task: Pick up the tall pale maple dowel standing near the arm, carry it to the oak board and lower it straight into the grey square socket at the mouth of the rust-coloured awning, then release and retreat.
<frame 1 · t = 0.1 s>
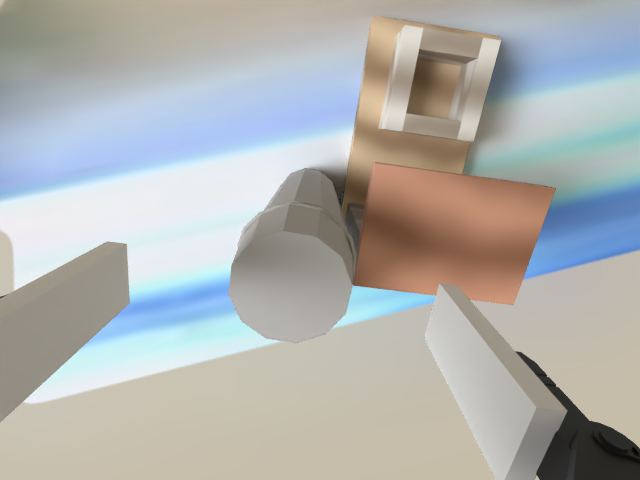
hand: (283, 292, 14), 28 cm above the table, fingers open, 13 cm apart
socket station: (408, 138, 39), on the table
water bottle: (304, 203, 41), on the table
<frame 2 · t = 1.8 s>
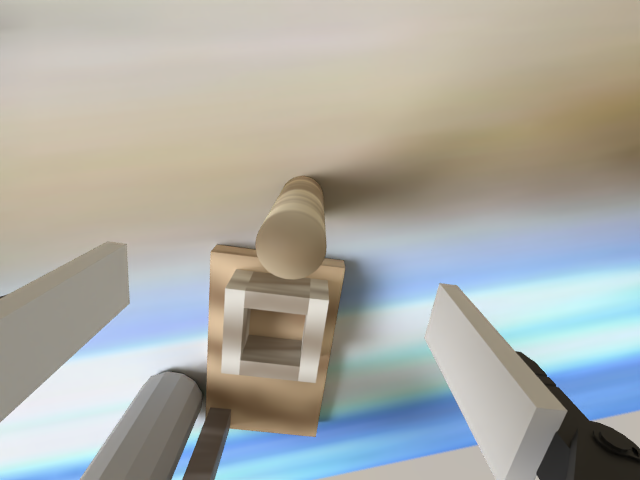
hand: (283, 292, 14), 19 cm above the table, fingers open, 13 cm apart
socket station: (271, 342, 37), on the table
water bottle: (173, 396, 40), on the table
peg: (302, 197, 32), on the table
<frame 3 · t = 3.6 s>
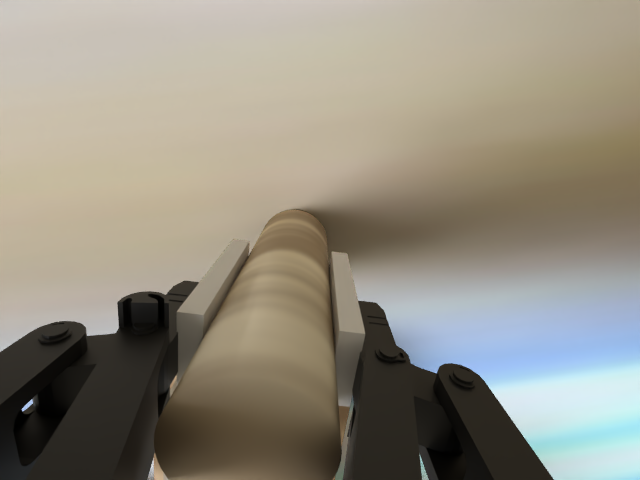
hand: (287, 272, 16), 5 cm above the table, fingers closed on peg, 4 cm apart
socket station: (250, 444, 26), on the table
peg: (294, 241, 20), on the table, touching gripper
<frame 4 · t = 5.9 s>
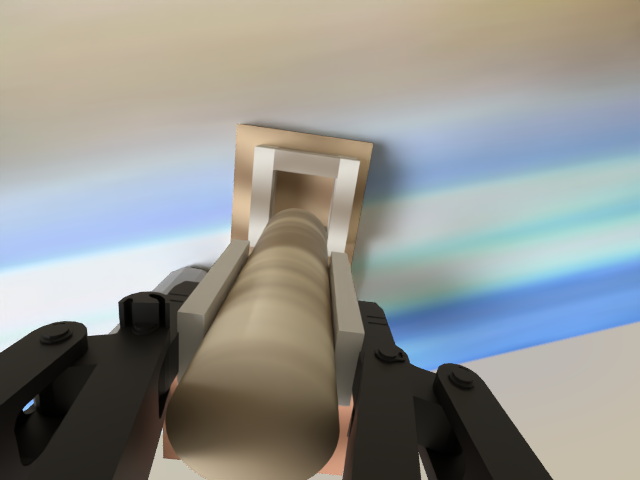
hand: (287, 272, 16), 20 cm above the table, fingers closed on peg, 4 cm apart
socket station: (294, 236, 37), on the table
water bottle: (193, 297, 39), on the table
peg: (295, 239, 21), point 15 cm above the table, touching gripper
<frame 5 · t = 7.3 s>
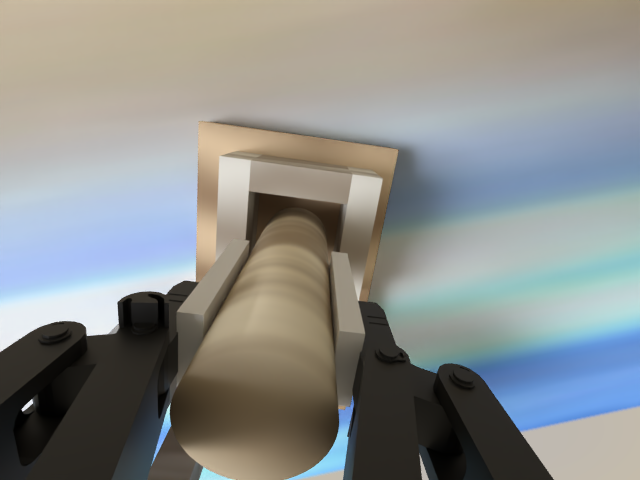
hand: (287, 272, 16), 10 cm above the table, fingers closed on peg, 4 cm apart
socket station: (285, 276, 27), on the table
peg: (295, 238, 21), point 4 cm above the table, touching gripper
when the fingers open (7 cm above the table, at t = 8.0 s): peg stays where it is, resting on socket station.
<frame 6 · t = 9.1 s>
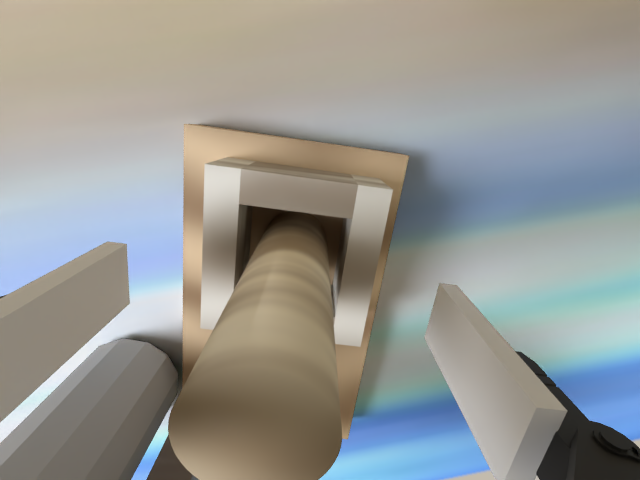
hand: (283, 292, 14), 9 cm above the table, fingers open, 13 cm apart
socket station: (282, 293, 24), on the table
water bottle: (136, 378, 27), on the table
peg: (295, 241, 21), point 2 cm above the table, touching socket station
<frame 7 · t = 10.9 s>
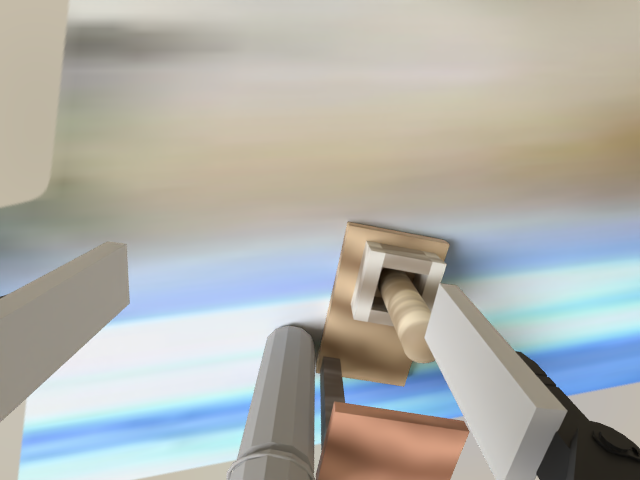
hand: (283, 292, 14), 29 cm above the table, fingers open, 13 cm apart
socket station: (376, 305, 46), on the table
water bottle: (287, 348, 48), on the table
peg: (391, 280, 43), point 2 cm above the table, touching socket station
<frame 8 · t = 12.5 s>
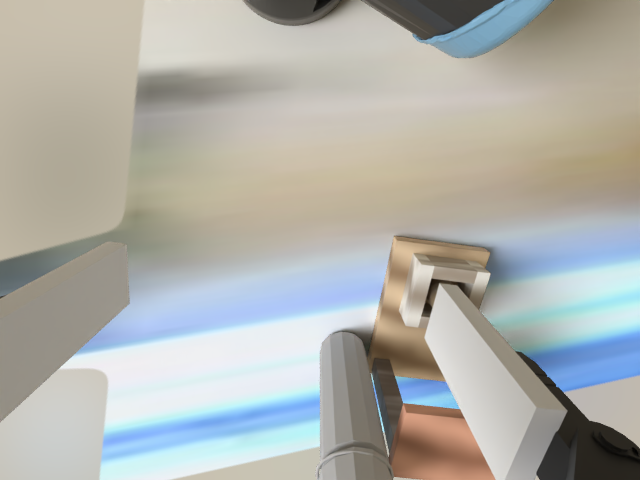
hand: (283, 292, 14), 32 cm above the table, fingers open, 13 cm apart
socket station: (421, 309, 50), on the table
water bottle: (339, 351, 53), on the table
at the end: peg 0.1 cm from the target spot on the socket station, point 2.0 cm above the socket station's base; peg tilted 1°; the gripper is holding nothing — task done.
